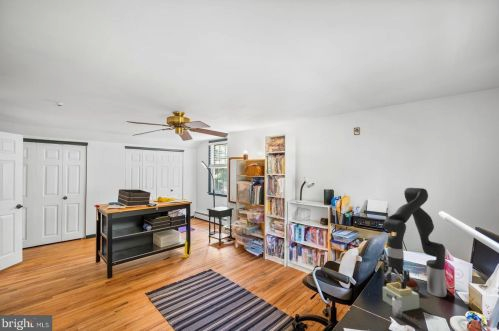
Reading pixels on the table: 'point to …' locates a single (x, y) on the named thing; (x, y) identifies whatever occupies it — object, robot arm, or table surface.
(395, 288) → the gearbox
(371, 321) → the table surface
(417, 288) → the figurine
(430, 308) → the table surface
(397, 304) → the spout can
